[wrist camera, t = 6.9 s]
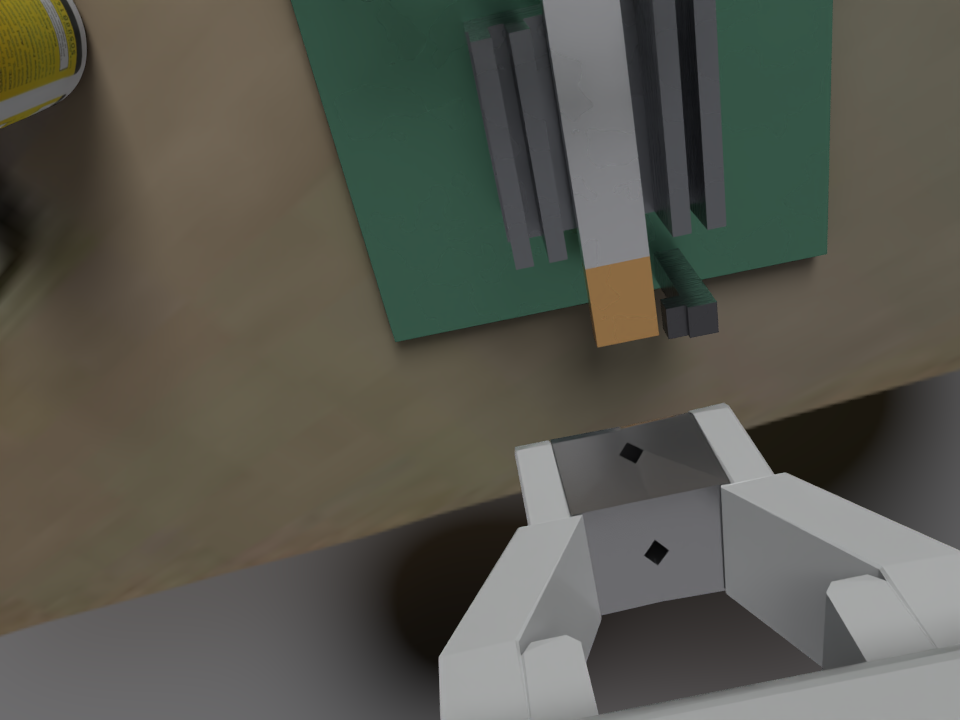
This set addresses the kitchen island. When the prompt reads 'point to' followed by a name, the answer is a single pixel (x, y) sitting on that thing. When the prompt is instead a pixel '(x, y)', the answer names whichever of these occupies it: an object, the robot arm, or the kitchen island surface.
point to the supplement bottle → (38, 55)
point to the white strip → (602, 165)
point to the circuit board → (540, 153)
